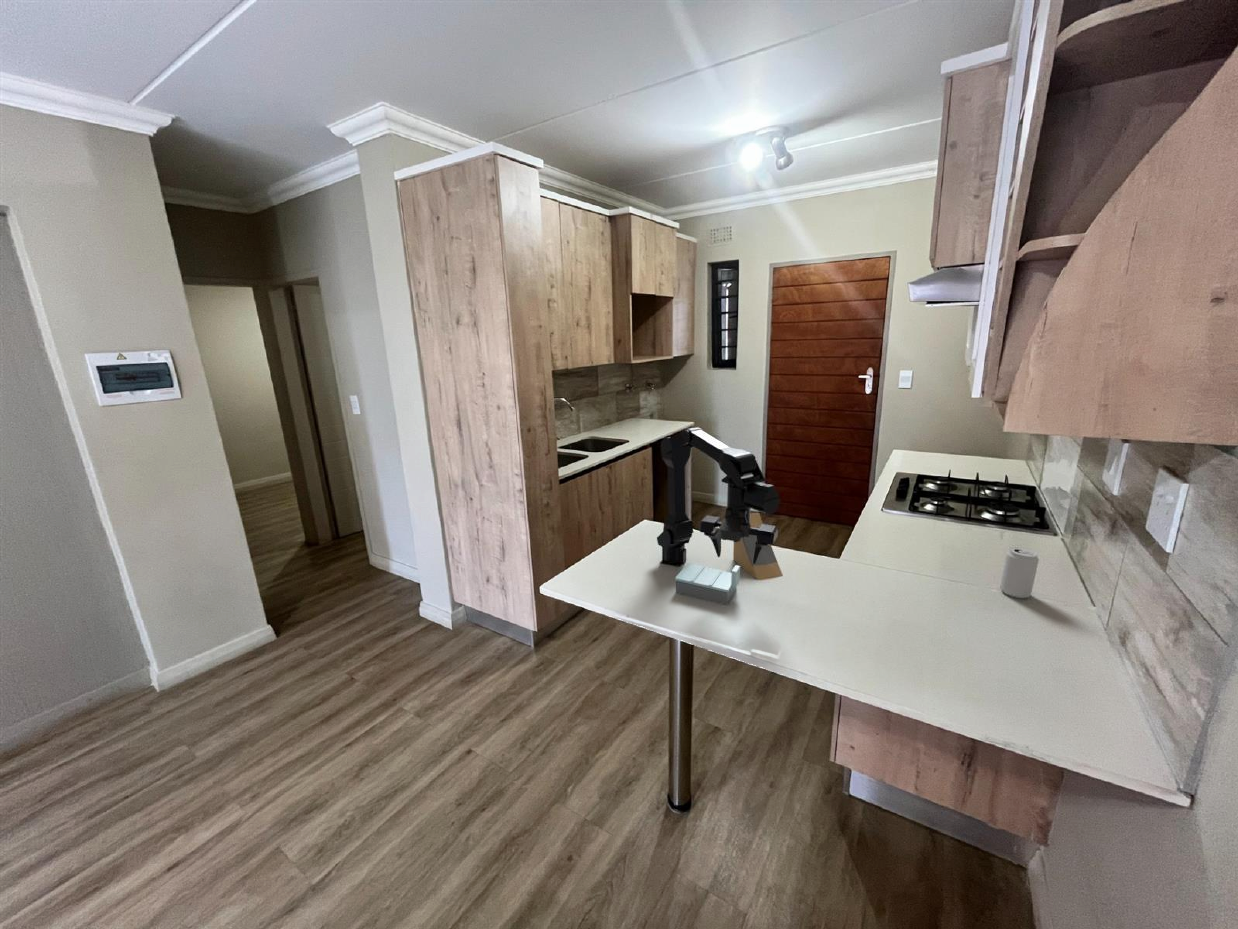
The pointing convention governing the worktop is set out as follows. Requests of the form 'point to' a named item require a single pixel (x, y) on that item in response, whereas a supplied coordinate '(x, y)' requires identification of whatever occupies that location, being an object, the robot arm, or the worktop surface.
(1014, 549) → the beverage can
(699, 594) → the tub
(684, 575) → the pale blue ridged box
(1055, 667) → the worktop surface
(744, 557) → the sandwich container
